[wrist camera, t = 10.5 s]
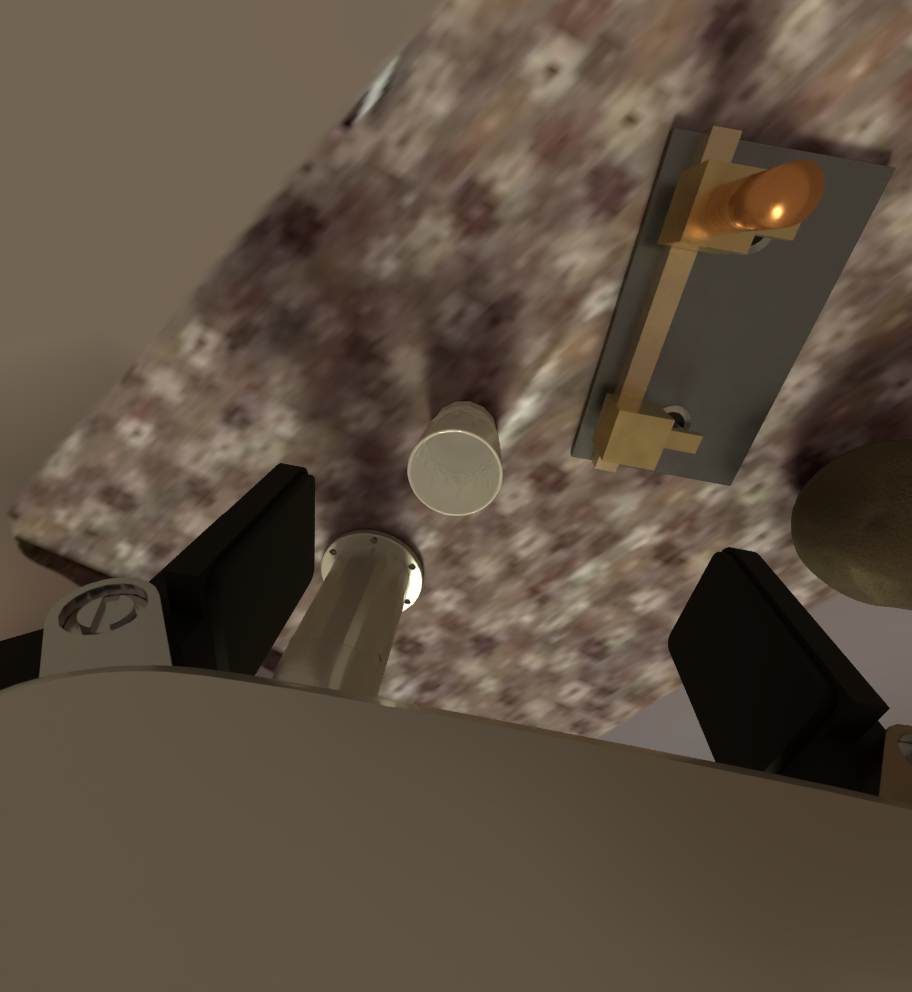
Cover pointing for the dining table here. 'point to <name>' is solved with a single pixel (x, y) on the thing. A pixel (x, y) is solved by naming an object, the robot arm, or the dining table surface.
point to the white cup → (457, 460)
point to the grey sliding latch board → (715, 320)
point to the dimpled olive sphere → (860, 524)
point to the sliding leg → (740, 205)
